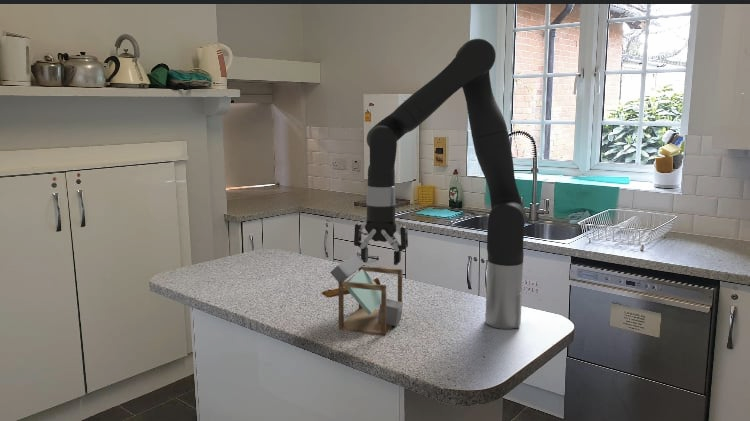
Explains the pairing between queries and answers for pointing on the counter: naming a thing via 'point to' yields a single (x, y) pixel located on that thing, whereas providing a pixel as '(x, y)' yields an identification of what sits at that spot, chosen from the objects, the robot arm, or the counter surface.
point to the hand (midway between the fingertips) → (380, 263)
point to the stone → (392, 312)
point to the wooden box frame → (360, 317)
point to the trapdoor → (362, 296)
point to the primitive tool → (336, 291)
